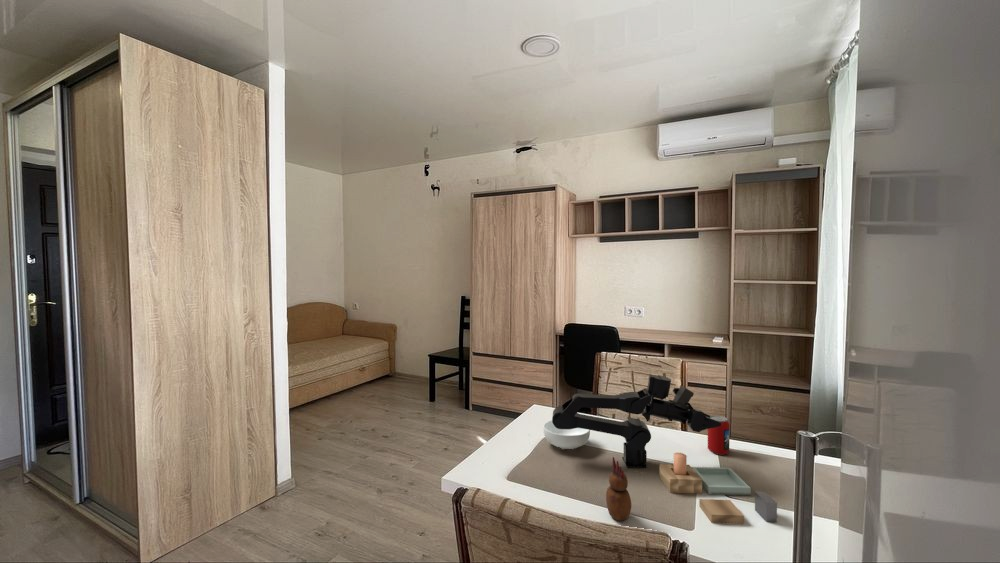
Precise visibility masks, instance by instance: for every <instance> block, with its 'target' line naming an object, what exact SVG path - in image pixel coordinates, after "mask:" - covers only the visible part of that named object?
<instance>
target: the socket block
mask: <svg viewBox="0 0 1000 563" xmlns="http://www.w3.org/2000/svg"><path fill="white" fill-rule="evenodd" d="M692 467H693V466H691V465H690V464H686V475H675V474H674V463H672V464H671V463H670V464H668V463H667V464H666V463H659V479H661V481H662V483H663V484H664V486H665V487H666V489H667V490H668V492H669V493H672V494H673V493H674V494H703V487H702V479H701V478H700V477H699V476H698V474H697V473H696V472H695V471H694V470H693V469H692Z"/></svg>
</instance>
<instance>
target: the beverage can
mask: <svg viewBox="0 0 1000 563" xmlns="http://www.w3.org/2000/svg"><path fill="white" fill-rule="evenodd" d="M710 418H711V419H714V420H716V421H719V422H721V426H720V427H715V428H710V429H707V449H708V450H709V451H710V452H711V453H712V454H715V455H719V456H720V455H721V456H723V455H724V456H725V455H727V454H729V453H730V422H729V421H728V418H727V417H725V416H721V415H714V414H713V415H710Z"/></svg>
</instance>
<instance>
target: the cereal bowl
mask: <svg viewBox="0 0 1000 563" xmlns="http://www.w3.org/2000/svg"><path fill="white" fill-rule="evenodd" d="M543 434H544V437H545V439H546V440H547V442H548V443H550V444H551V445H552V446H555V447H557V448H558V447H560V448H563V449H562V450H564V449H572V450H575V449H577V448H580V447H583V446H584V445H585V444H587V442H588V441H589V438H590V435H591V430H588V429H582V428H574V429H558V428H556V427H555V426H554V425H553V422H552V419H551V420H548V421H547V422H545V423H544V424H543ZM560 448H559V449H560ZM574 448H575V449H574Z"/></svg>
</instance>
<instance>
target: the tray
mask: <svg viewBox="0 0 1000 563" xmlns="http://www.w3.org/2000/svg"><path fill="white" fill-rule="evenodd" d="M691 467H692V469H693V470H694V471H695V472H696V473H697V474H698V476H699V477H700V478H701V479H702V489H703V490H704V491H705V492H706V493H707V494H708V495H719V496H720V495H723V496H724V495H727V496H751V493H752V492H751V489H752V488H751V487H750V486H749V485H748V484H747V483H746V482H745V480H744V479H742V478H741V477H740V475H738V473H736V472H735V471H734V470H733V469H732V468H731V467H715V466H714V467H713V466H711V467H709V466H708V467H707V466H691Z"/></svg>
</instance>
